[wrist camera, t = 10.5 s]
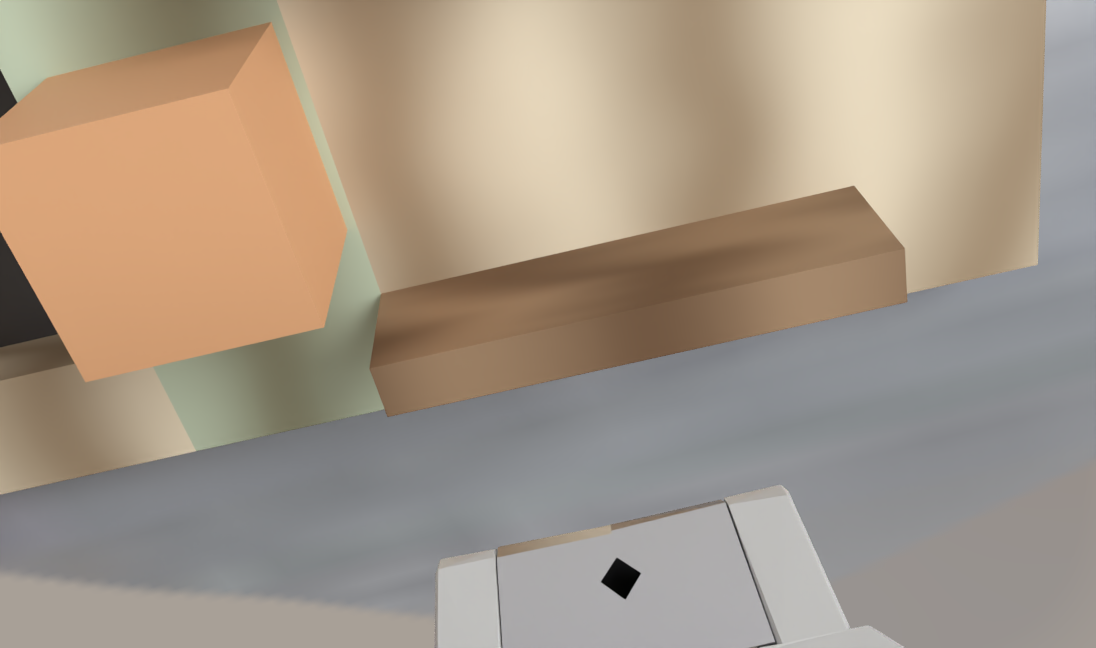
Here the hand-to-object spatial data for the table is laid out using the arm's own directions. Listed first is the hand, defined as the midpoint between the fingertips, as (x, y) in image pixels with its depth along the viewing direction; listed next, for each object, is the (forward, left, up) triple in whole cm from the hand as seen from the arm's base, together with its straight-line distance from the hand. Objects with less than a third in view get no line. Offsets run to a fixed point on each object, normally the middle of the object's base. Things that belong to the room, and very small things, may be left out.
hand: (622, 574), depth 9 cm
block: (-7, 0, -13) cm, 15 cm away
